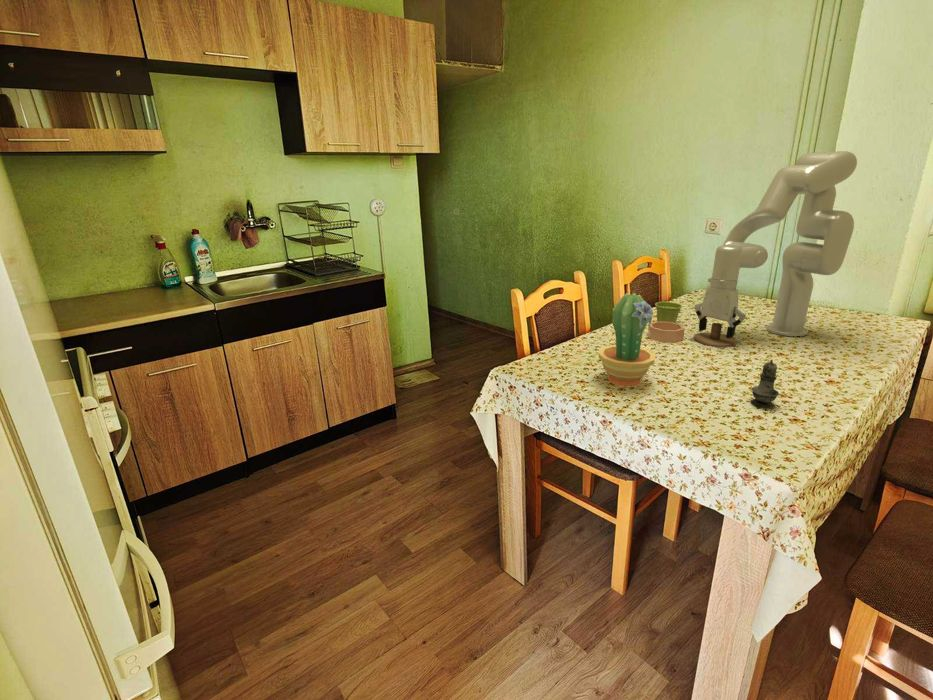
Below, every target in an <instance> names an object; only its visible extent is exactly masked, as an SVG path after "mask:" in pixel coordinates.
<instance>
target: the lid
mask: <svg viewBox="0 0 933 700" xmlns="http://www.w3.org/2000/svg"><path fill="white" fill-rule="evenodd" d="M722 327H723V324H722V323H720V322H712V324H711V329H710V332H706V331H705V332H698V333H695V334H694V335H693V338H694V340H695V341H696V342H695V341H694V342H695V343H698V344H702V345H704V346H709V347H712V346H715V347H714V348H716V347H726V348H729V347H733V346H735V345H737V344H736V340H737V339H736V338H735V337H734V336H733V337H732V338H729V339H728V338H726V333H722V330H723V329H722Z"/></svg>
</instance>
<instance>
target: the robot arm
mask: <svg viewBox="0 0 933 700" xmlns="http://www.w3.org/2000/svg"><path fill="white" fill-rule="evenodd" d="M857 164H858V159H857V157H856V154H854V153H853V152H851V151H847V150H845V151H843V150H842V151H841V150H840V151H839V150H838V151H815V152H810V153H804V154H802V155H801V156H799V157H798V158H797V159H796V161H795V164H793V165H786V166H783V167H781V168H779V170H778V171H777V172H776V174H775V175H774V177H773V178H772V181H771V182H770V184H769V186H768V188H767V190H766V191H765V193H764V195H763V197H762V198H761V200H760V202H759V204H758V206H757V207H756V209H754V210H753V211H752V212H751V213H750V214H748V215H747V216H745V217H744V218H742V219H741V220H740V221H739V222H737V224H735V226H734V227H733V228H732V229H731V230H730V231H729V233H728V235H727V237H726V238H725V240H724V242H723V245H719V246H717V248H716V249H715V254H714V262H713V269H712V273H711V277H709V278H708V279H707V282H708V283H710V284H709V286H707V288H706V291H705V293H704V296H703V299H702V302H700V303H697V304H694V306H693V307H694V310H695V314H696V315H697V317H698V320H699V322H698V332H703V331H706V330H707V324H708V318H711V319H714V320H719V321H724V322H725V321H726V322H727V323H728V326H727V330H726V333H725V335H726V338H728V339H729V338H732V337H733V338H734V336H735V333H736V328H737V326H739V325H741V324H742V323H743V322H744V321H745V319H746V318H747V315H746V314H745V313H744V312H743V311H741V310H740V309H738V307H739V291H738V289H737V285H738V280H739V273H740V269H741V268H742V269H744V268H745V269H756V268H757V269H758V268H759V267H761V266H763V265H764V264H765V263H766V262H767V260H768V257H769V254H768V251H767V249H766V247H764V246H762V245H761V244H760V245H759V244H755V243H749V242H745V241H746V240H747V239H748V238H749V237H750V236H751V235H753V233H755V232H757V231H758V230H761V229H763V228H766V227H769V226H771V225H775V224H776V223H780V222H781V221H783V220H784V219H785V217H786V216H787V214H788V212H789V211H790V209H791V207H792V205H793V204H794V202H795V200H796V198H797V197H798V195H804V197H803V201H802V204H801V209H800V212H799V215H798V218H797V223H796V230H795V231H796V233H797V235H798V236H799V237H800V238H805V239H811V240H818V241H819V240H820V241H823V244H821V243H820V244H819V243H816V242H814V243H813V242H805V241H799V242H798V241H797V242H792V243H790V244H789V245H788V246H787V247H786V248H785V249H784V251H783V253H782V263H781V265H782V270H781V271H782V272H781V280H780V286H779V289H778V296H777V300H776V305H775V309H774V315H773V320H772V323H771V324H768V325H766V328H765V329H766V331H768V332H770V333H772V334H775V335H779V336H784V337H793V336H794V337H797V336H800V337H805V335H806V336H807V335H808V334H809V330H808V329H807V328H805V324H806V323H808V319H807V314H808V311H809V307H810V306H809V305H810V302H811V298H812V292H813V290H814V289H813V288H814V278H813V276H812V274H814V275H821V276H831V275H834V274H836V273H837V272H838V271H839V270H840V269H841V267H842V265H843V264H844V261H845V258H846V254H847V251H848V248H849V245H850V243H851V239H852V235H853V232H854V228H855V220H854V217H853V215H852V214H851V213H850V212H848V211H844V210H836V209H835V210H834V206H835V201H836V197H837V189H836V186H837V185H838V184H840V183H842V182H844V181H846V180H847V179H848V178H849V177H851V175H853V173H854V172H855V170H856V169H857ZM737 316H738V318H737V319H736V317H737Z"/></svg>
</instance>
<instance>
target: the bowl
mask: <svg viewBox="0 0 933 700" xmlns="http://www.w3.org/2000/svg"><path fill="white" fill-rule="evenodd" d="M647 330H648V331H647V332H648V333H647V336H648V339H650V340H654V341H655V342H656V341H657V342H660V343H679V342H681V341H684V336H685V327H684V326H683V324H680V323H677V322H676V323H673V322H659V321H657V320H656V321H654V322H651V324H649V323H648V329H647Z"/></svg>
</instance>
